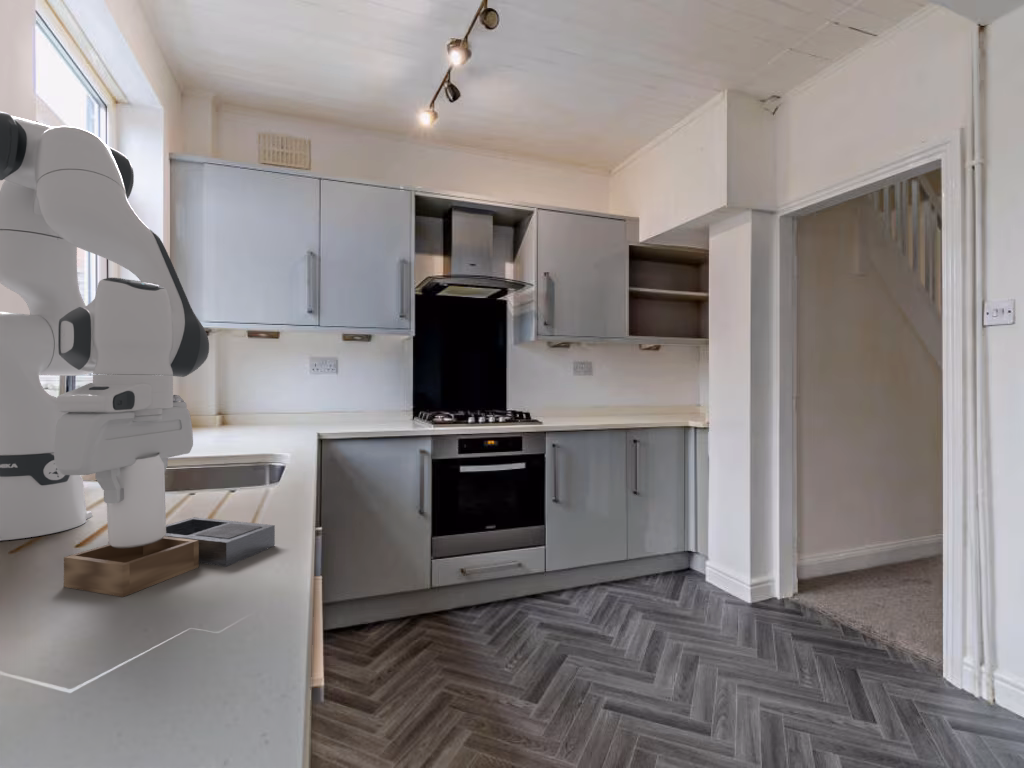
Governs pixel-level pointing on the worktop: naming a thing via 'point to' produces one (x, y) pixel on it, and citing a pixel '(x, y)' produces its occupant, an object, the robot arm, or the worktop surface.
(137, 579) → the box
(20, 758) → the worktop surface
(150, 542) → the can
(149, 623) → the worktop surface
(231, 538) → the tray
